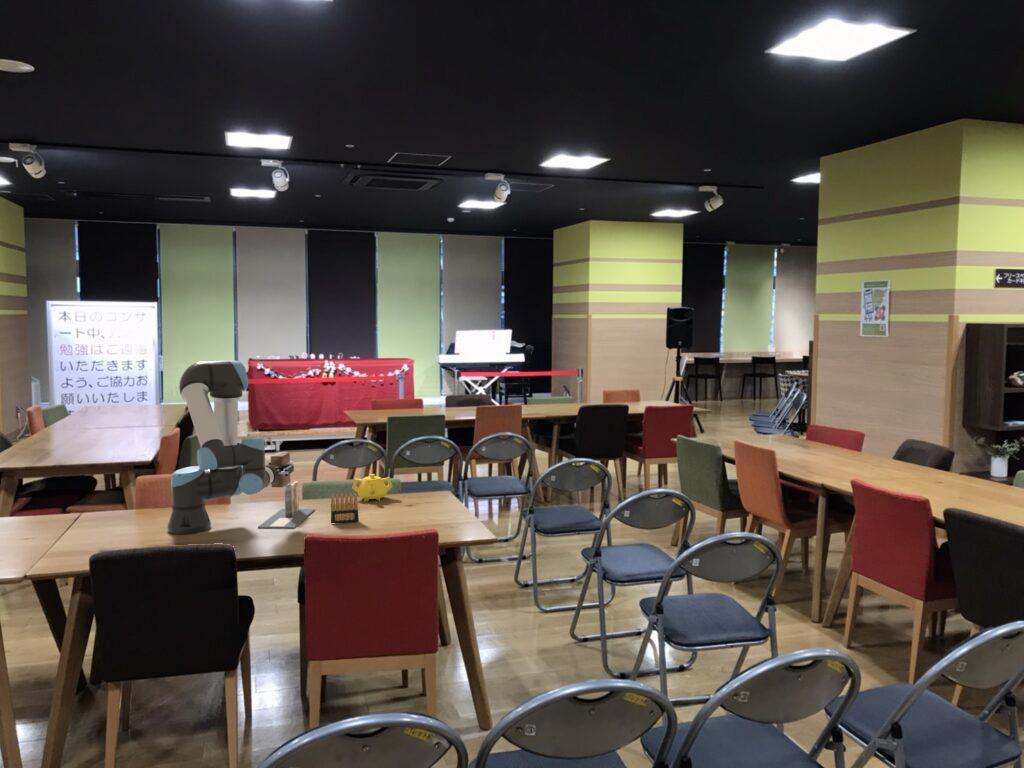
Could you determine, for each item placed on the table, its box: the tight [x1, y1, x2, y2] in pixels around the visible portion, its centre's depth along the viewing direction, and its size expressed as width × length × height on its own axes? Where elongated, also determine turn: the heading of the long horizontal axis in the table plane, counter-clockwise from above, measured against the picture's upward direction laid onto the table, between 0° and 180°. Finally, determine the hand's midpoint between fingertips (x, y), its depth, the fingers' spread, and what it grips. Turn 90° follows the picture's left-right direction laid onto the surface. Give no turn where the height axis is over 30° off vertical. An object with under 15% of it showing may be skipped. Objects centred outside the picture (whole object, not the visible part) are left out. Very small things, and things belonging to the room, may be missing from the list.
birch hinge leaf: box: [284, 480, 300, 517], centre depth 312 cm, size 12×3×13 cm, turn 178°
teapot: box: [351, 473, 394, 502], centre depth 339 cm, size 20×18×11 cm
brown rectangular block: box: [270, 451, 292, 488], centre depth 297 cm, size 4×10×12 cm, turn 178°
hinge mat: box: [257, 508, 316, 529], centre depth 306 cm, size 28×14×1 cm, turn 178°
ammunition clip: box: [330, 491, 360, 524], centre depth 300 cm, size 11×2×12 cm, turn 107°
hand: (285, 464), depth 302 cm, fingers closed on brown rectangular block, 4 cm apart
